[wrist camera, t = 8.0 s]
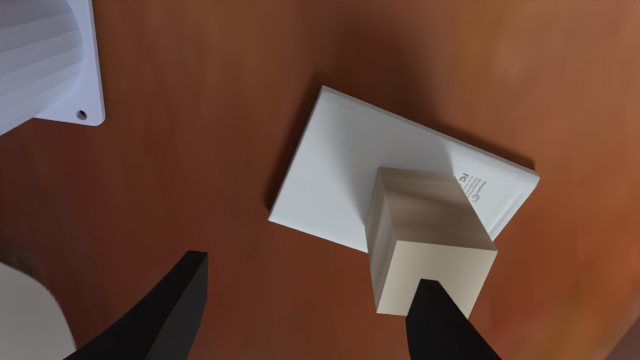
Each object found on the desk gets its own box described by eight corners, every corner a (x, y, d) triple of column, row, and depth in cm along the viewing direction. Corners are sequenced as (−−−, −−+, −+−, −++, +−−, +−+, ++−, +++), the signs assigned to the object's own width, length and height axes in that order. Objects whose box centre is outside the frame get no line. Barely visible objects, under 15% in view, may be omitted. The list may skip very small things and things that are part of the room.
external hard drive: (322, 80, 20) (530, 165, 22) (270, 206, 24) (452, 269, 26) (322, 90, 19) (544, 179, 21) (266, 222, 23) (459, 287, 25)
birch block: (364, 228, 23) (376, 312, 18) (378, 166, 21) (397, 240, 16) (434, 236, 23) (466, 321, 18) (454, 175, 21) (497, 251, 16)
